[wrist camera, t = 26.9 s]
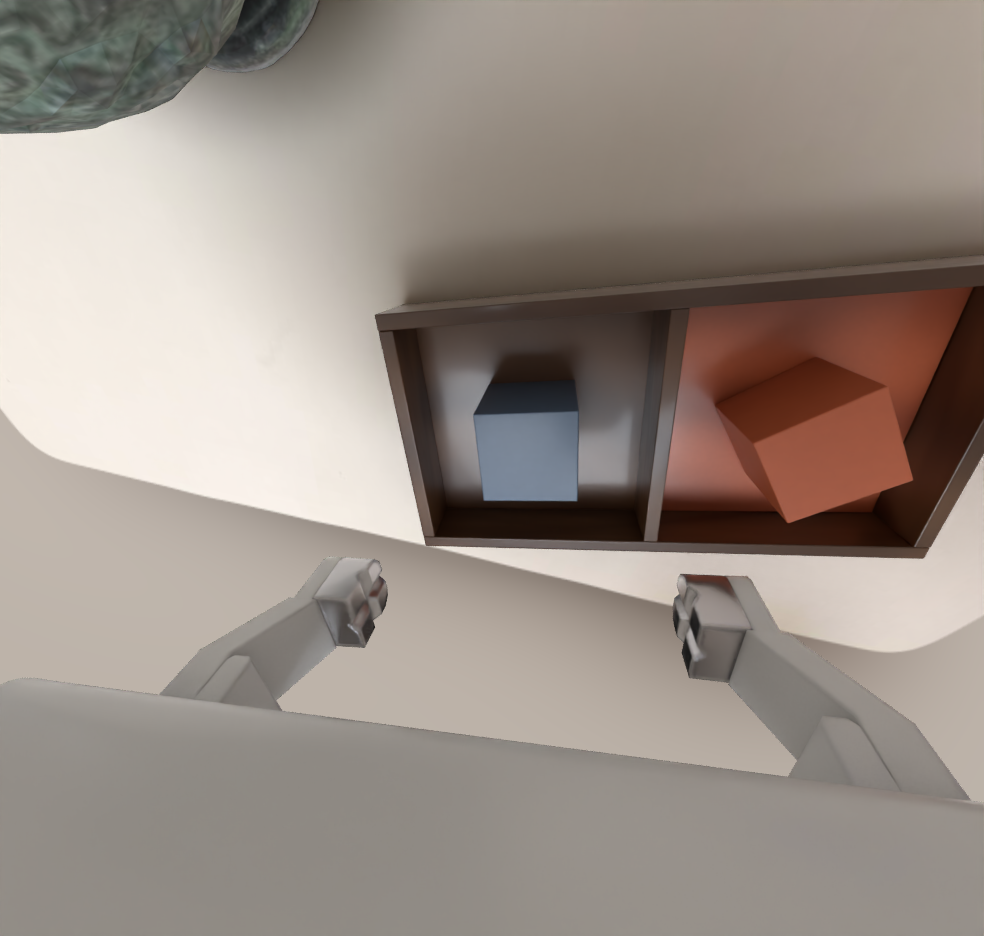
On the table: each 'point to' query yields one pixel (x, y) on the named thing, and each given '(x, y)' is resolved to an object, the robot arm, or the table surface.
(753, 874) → the robot arm
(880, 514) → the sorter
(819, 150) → the table surface
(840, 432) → the terracotta block
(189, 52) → the bowl
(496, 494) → the slate block
